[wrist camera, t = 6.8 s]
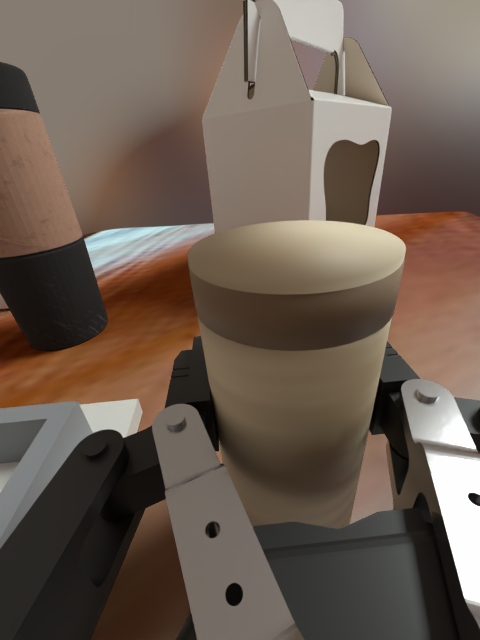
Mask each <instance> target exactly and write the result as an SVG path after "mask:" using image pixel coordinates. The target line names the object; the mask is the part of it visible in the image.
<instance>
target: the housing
mask: <svg viewBox="0 0 480 640" xmlns="http://www.w3.org/2000/svg"><path fill="white" fill-rule="evenodd" d="M142 413H143V412H142V409H141V406H140V403H139V400H138V399H131V400H122V401H112V402H102V403H92V404H83V405H79V403H78V401H70V402H61V403H51V404H41V405H31V406H22V407H12V408H2V409H0V549H1V547H2V546H3V544H4V543H5V542H6V540H7V539H8V538H9V536H10V535H11V534H12V532H13V531H14V530H15V528H16V527H17V525H18V524H19V523H20V521H21V520H22V519H23V517H24V516H25V515H26V513H27V512H28V511H29V509H30V508H31V506H32V505H33V504H34V502H35V501H36V500H37V498H38V497H39V496H40V494H41V493H42V492H43V490H44V489H45V488H46V486H47V485H48V483H49V482H50V481H51V479H52V478H53V477H54V475H55V474H56V473H57V471H58V470H59V469H60V467H61V466H62V464H63V463H64V462H65V460H66V459H67V458H68V456H69V455H70V454H71V452H72V451H73V450H74V448H75V447H76V446H77V445H78V443H80V442H81V441H82V440H83V439H84V438H85V437H87V436H89V435H90V434H92V433H94V432H97V431H100V430H106V429H111V430H116V431H118V432H119V433H120V434H121V435H122V436H123V438H124V437H127V436H129V435H132V434H135V433H137V431H138V427H139V424H140V420H141V417H142Z"/></svg>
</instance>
